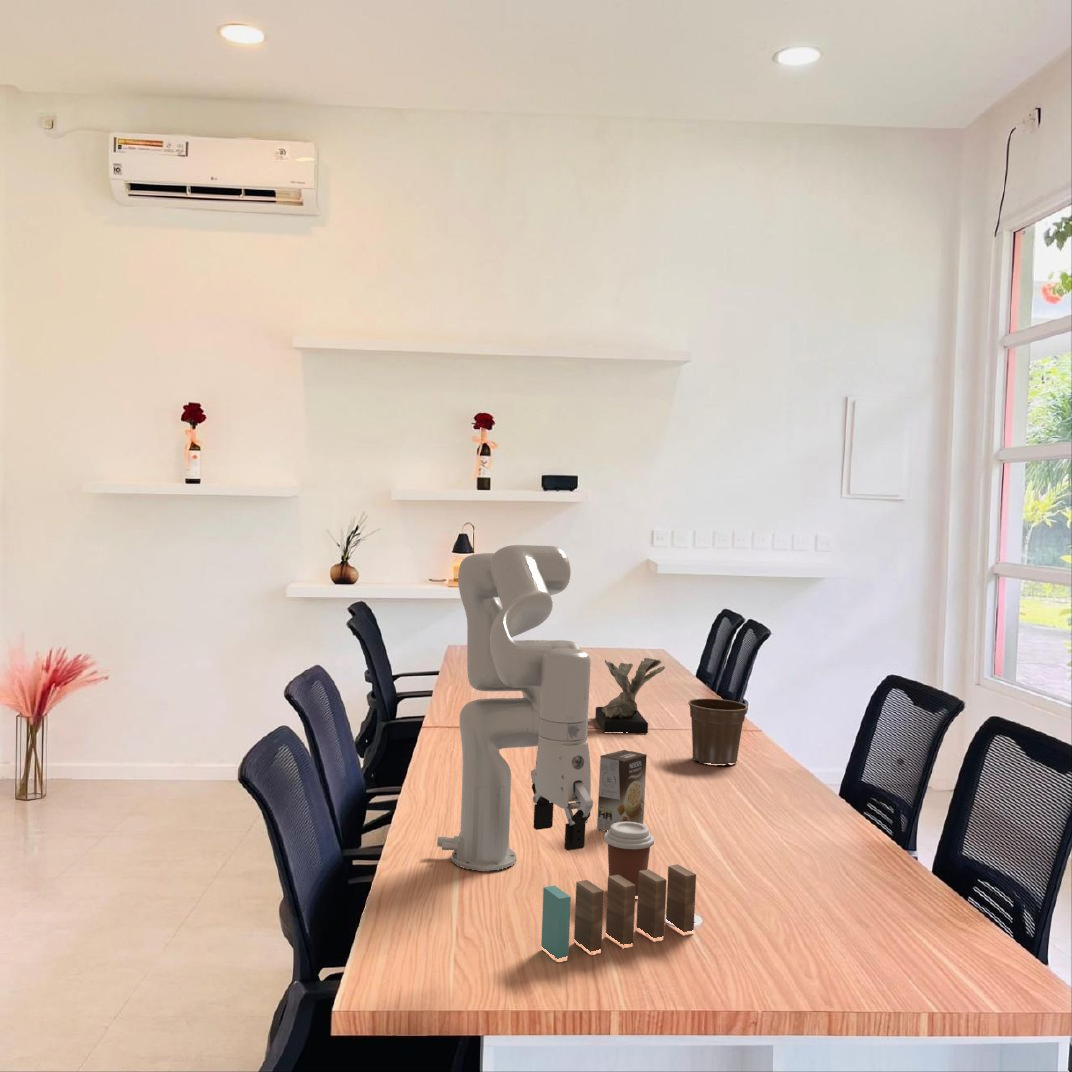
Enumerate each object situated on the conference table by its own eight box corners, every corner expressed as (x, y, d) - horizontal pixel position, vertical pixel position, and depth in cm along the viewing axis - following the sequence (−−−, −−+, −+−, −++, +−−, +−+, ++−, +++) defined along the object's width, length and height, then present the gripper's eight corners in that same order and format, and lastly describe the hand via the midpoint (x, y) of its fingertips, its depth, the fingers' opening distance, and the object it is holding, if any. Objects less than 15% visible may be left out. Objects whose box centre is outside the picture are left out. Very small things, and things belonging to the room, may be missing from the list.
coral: (594, 716, 338) (596, 651, 338) (655, 717, 339) (658, 653, 338) (601, 733, 313) (604, 663, 313) (667, 735, 314) (670, 665, 313)
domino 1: (590, 956, 159) (592, 892, 159) (573, 943, 163) (576, 881, 163) (601, 953, 160) (603, 890, 160) (584, 941, 164) (587, 879, 164)
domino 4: (683, 936, 168) (686, 876, 167) (665, 924, 172) (668, 866, 172) (693, 934, 169) (696, 874, 168) (675, 922, 173) (677, 864, 173)
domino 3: (653, 942, 165) (656, 881, 164) (636, 930, 169) (638, 871, 169) (663, 940, 166) (666, 879, 165) (646, 928, 170) (648, 869, 170)
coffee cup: (620, 879, 192) (623, 816, 192) (661, 892, 186) (664, 827, 186) (591, 892, 185) (594, 827, 184) (633, 906, 179) (636, 839, 179)
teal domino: (556, 963, 156) (559, 898, 156) (541, 950, 161) (543, 887, 160) (568, 960, 157) (570, 896, 157) (552, 947, 161) (554, 885, 161)
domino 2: (622, 949, 162) (625, 887, 162) (605, 936, 166) (608, 876, 166) (633, 947, 163) (635, 885, 163) (615, 934, 167) (618, 874, 167)
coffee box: (620, 836, 217) (623, 761, 216) (596, 829, 221) (599, 755, 220) (644, 826, 224) (647, 754, 223) (620, 820, 228) (623, 748, 227)
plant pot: (742, 756, 291) (744, 699, 290) (748, 770, 275) (751, 711, 274) (684, 752, 293) (686, 696, 292) (687, 767, 276) (689, 707, 276)
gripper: (614, 741, 152) (608, 854, 153) (556, 715, 167) (551, 818, 168) (570, 745, 148) (565, 861, 149) (515, 718, 163) (511, 823, 164)
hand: (558, 838), depth 159 cm, fingers open, 9 cm apart
